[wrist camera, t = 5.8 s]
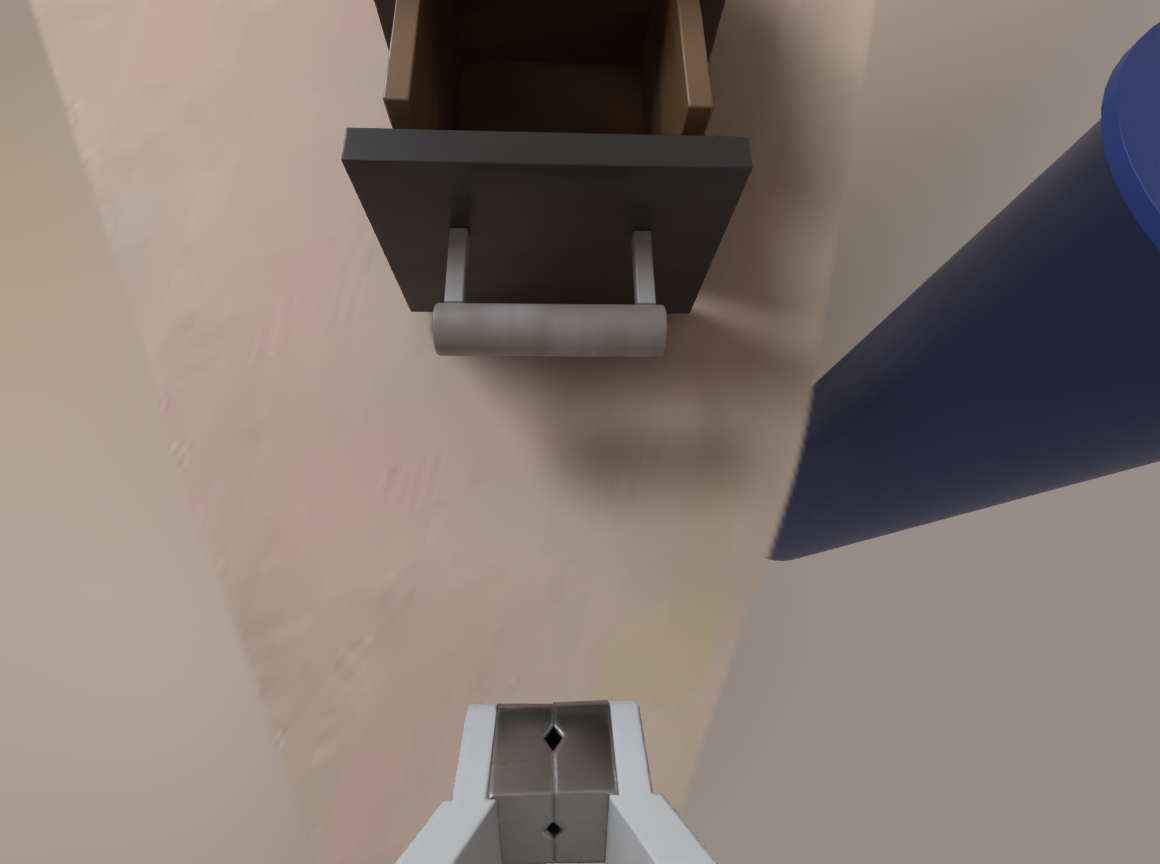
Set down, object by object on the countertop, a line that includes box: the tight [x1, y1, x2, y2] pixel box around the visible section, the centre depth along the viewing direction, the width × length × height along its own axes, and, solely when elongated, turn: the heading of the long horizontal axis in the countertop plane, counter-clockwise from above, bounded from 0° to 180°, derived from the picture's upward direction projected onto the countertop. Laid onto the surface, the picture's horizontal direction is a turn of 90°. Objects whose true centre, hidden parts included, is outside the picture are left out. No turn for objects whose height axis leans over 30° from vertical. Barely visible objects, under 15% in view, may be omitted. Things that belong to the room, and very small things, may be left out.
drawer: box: [341, 0, 752, 357], centre depth 21 cm, size 18×12×8 cm, turn 1°
